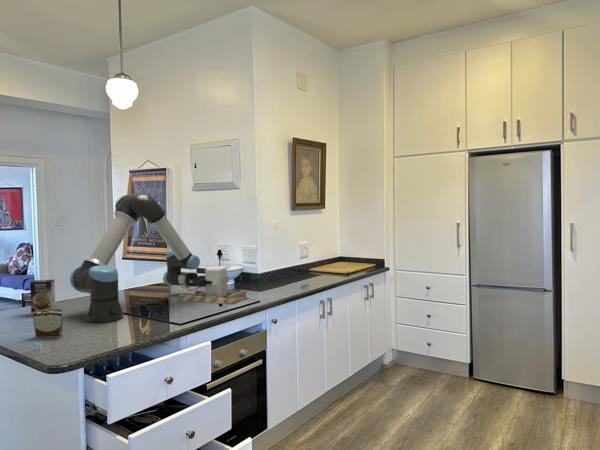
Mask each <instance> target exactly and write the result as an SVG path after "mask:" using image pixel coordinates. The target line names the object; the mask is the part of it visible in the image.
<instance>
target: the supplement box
mask: <svg viewBox="0 0 600 450" xmlns="http://www.w3.org/2000/svg"><path fill="white" fill-rule="evenodd" d="M204 272H205V273H204V274H205V278H206V281H207V279H210V280H218V285H207V284H206V286H205V291H206V296H205V297H207V296H217V297H218V298H225V297H224V296H226V295H228V292H227V290H228V282H227V277H228V267H211V268H207V269H204Z"/></svg>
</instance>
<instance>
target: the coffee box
mask: <svg viewBox="0 0 600 450" xmlns="http://www.w3.org/2000/svg"><path fill="white" fill-rule="evenodd" d="M55 285H56V284H55V279H37V280H36V279H35V280H32V281H30V282H29V287H30V313H31V314H32V312H35V311H39V310H44V309H56V287H55ZM31 314H30V315H31Z"/></svg>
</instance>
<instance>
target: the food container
mask: <svg viewBox="0 0 600 450" xmlns="http://www.w3.org/2000/svg"><path fill="white" fill-rule="evenodd" d="M30 315H31V316H30V318H32V322H33V327H34V335H35V338H36V339H38V338H40V339H41V338H61V337H62V336H63V322H64V317H65V316H66V314H65V311H64V308H55V309H44V310H39V311H35V312H32V314H30Z"/></svg>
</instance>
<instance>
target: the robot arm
mask: <svg viewBox="0 0 600 450" xmlns="http://www.w3.org/2000/svg"><path fill="white" fill-rule="evenodd" d="M114 206H115V209H114V210H115V211H114V212H113V213H114V217H113V220H112V221H111V223H110V225H109V226H108V228H107V229H106V231H105V232H104V234H103V236H102V238H101V239H100V241H99V242H98V244H97V246H96V247H95V249H94V250H93V252H92V253H91V255H90V257H89V258H87V259H84V261H83V262H82V263H81V265H80V266H78V267H75V268H74V269H73V270H72V272H71V273H70V276H69V282H70V285H71V287H72V288H73V290H76V291H77V292H80V293H83V294H85V293H86V294H89V297H90V302H89V303H90V304H89V308H88V310H87V314H86V322H88V323H92V324H94V323H97V324H98V323H99V324H100V323H110V322H113V321H119V320H121V319H123V318H124V310H123V308H122V306H121V302H120V299H119V296H120V295H119V274H118V269H117V268H116V267H114V266H111V265H109V263H110V262H111V260H112V259H113V257H114V255H115V253H116V252H117V250H118V249H119V247H120V245H121V244H122V241H123V240H124V238H125V236H126V235H127V233H128V232H129V230H130V228H131V227H132V226H134V225H137V223H138V221H139V220H140V218H143V219H145V220H146V221H147V223H148V224H150V225H152V226H153V227H154V229H155V230H156V231H157V232H158V234H159V235H160V237H161V238H162V240H163V241H164V242H165V244H166V245H167V246H168V248H169V249H170V250H167V251H166V259H165V260H166V271H165V272H164V273H163V276H162V277H163V278H162V280H163V283H165V285H169V286H182V287H184V288H186V287H196V286H198V285H199V286H204V287H206V284H207V285H218V280H210V279H207V281H206V278H205V275H198V273H197V272H189V271H182V269H183V270H184V269H185V270H196V269H198V268H199V267H200V264H201V259H200V258H199V256H197V255H193V254H192V252H191V251H190V249H189V247H188V246H187V245H186V244H185V242H184V241H183V239H182V237H181V236H180V235H179V234H178V232H177V231H176V228H174V226H173V225H172V223H171V222H170V220H169V219H168V218H167V216H166V213H167V212H166V211H165V210H164V208H163V207H162V206H161V204H160V203H159V202H158V201H157V200H156V199H155V198H153V197H152V196H150V195H149V194H145V193H137V194H135V193H133V194H131V193H128V194H127V193H126V194H124V195H122V196H119V198H118V199H117V200H116V202H115V205H114ZM227 283H230V276H227Z"/></svg>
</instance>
